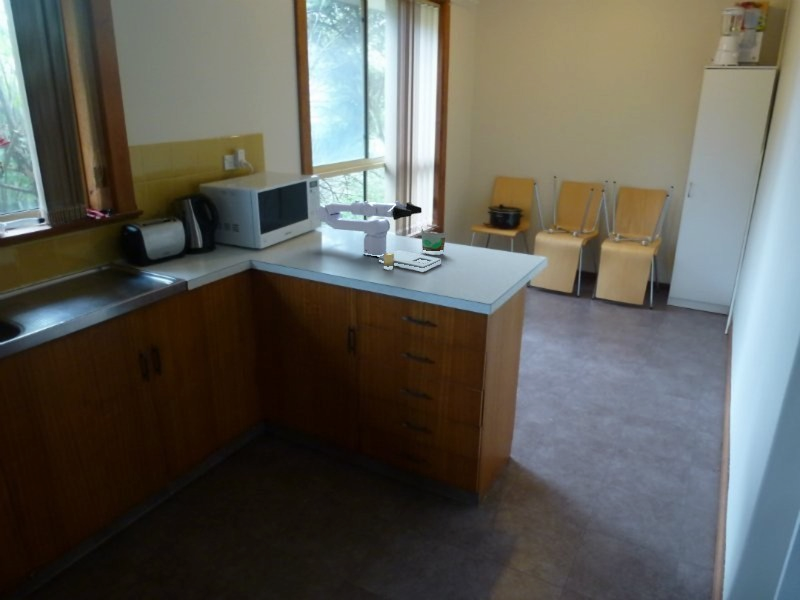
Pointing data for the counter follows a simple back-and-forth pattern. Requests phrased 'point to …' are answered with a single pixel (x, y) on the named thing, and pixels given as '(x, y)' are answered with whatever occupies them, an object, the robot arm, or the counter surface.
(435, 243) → the food container
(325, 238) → the counter surface
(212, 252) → the counter surface
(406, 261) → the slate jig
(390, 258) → the gold metal cylinder
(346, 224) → the robot arm
